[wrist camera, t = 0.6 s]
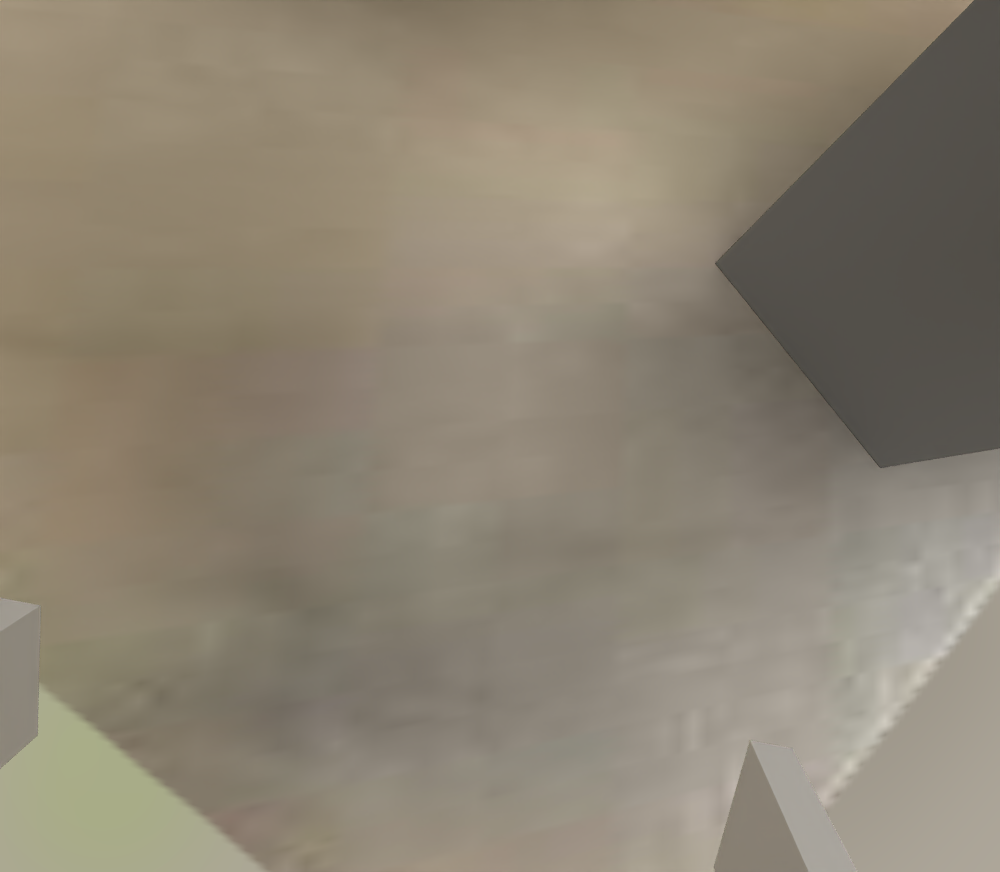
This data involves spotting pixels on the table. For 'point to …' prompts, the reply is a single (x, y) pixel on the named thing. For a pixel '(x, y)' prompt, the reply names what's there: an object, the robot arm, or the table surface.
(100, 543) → the table surface
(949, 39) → the tall grey lidded box
